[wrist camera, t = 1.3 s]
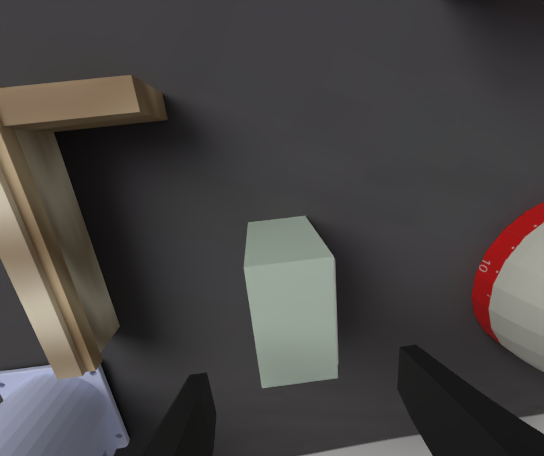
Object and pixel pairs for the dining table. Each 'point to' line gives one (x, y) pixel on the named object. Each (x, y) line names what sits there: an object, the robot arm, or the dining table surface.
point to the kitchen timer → (514, 288)
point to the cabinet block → (291, 301)
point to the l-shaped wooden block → (60, 211)
